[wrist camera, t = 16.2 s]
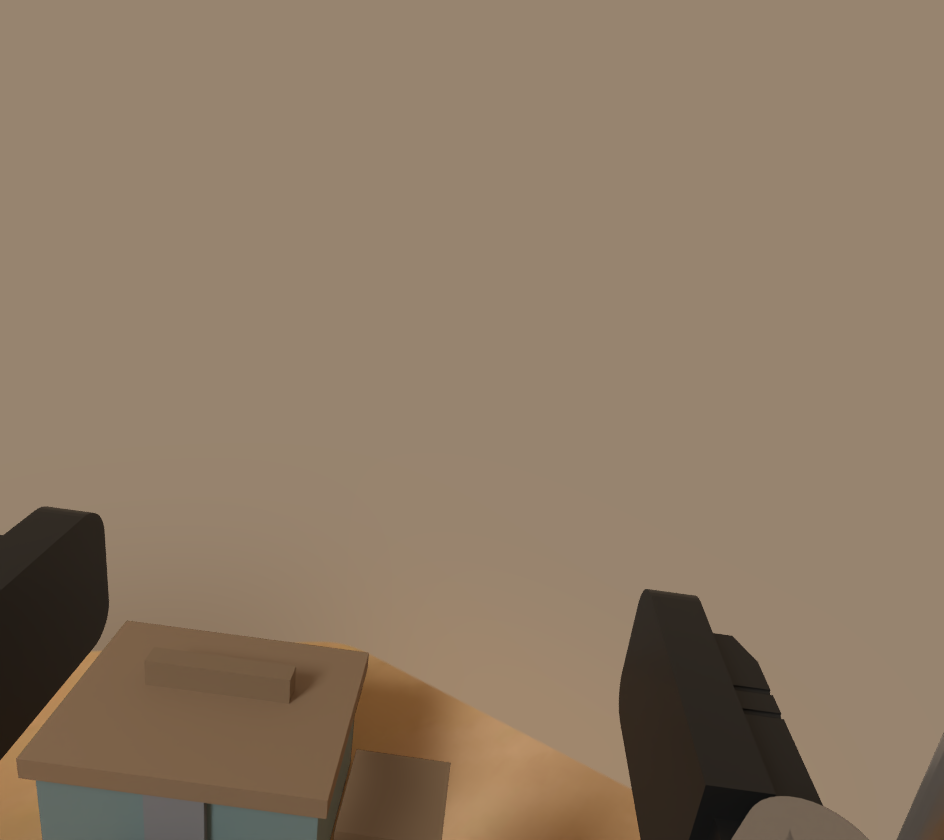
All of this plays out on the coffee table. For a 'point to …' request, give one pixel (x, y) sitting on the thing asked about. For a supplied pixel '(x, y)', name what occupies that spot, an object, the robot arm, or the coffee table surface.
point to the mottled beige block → (393, 798)
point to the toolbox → (198, 740)
